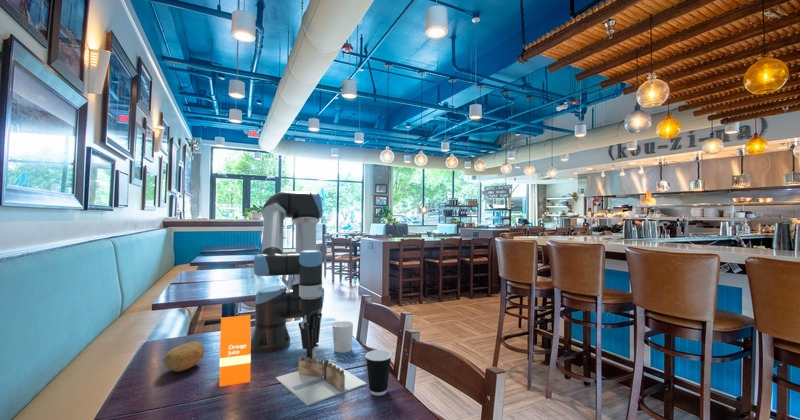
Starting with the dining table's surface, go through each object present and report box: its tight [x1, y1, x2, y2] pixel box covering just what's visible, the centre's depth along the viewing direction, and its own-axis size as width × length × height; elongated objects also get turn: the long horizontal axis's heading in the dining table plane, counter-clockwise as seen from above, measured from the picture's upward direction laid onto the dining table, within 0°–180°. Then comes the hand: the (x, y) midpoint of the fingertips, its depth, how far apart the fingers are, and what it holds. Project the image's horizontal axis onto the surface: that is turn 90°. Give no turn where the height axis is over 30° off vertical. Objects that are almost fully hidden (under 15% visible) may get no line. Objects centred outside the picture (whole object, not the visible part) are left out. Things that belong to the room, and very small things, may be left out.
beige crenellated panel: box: [297, 355, 324, 377], centre depth 119 cm, size 9×1×5 cm, turn 69°
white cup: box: [332, 320, 354, 354], centre depth 143 cm, size 8×8×10 cm
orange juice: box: [219, 314, 252, 388], centre depth 117 cm, size 8×9×20 cm
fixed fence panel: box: [323, 359, 345, 390], centre depth 114 cm, size 11×1×6 cm, turn 41°
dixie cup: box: [364, 349, 393, 396], centre depth 110 cm, size 8×8×11 cm
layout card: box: [275, 361, 367, 407], centre depth 116 cm, size 22×20×1 cm
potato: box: [163, 340, 205, 373], centre depth 124 cm, size 10×14×8 cm
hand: (310, 367), depth 122 cm, fingers closed
